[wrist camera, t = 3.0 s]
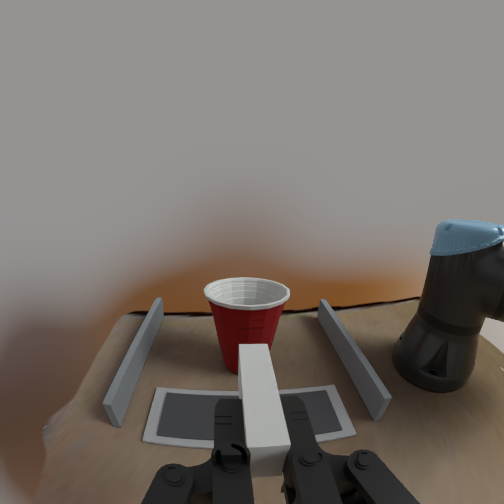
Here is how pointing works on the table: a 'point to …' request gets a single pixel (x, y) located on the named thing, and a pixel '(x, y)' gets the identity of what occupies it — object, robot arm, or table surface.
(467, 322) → the robot arm
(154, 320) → the guide rails
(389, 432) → the table surface
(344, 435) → the pad
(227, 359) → the plastic cup
